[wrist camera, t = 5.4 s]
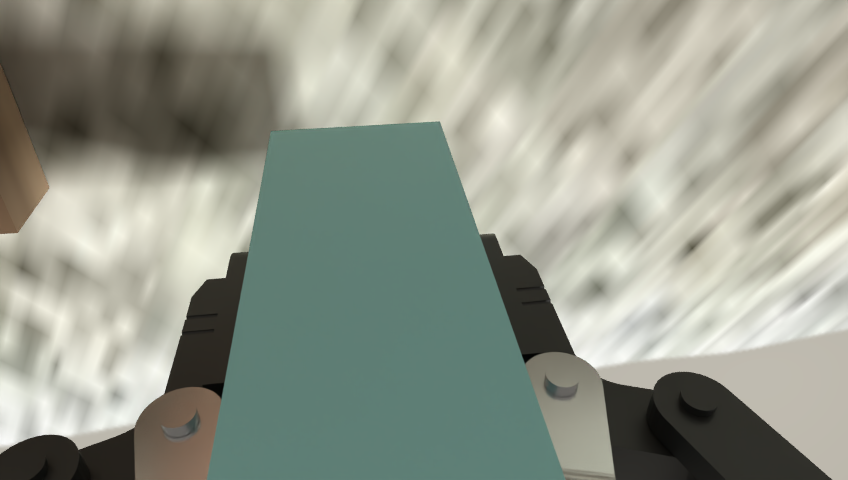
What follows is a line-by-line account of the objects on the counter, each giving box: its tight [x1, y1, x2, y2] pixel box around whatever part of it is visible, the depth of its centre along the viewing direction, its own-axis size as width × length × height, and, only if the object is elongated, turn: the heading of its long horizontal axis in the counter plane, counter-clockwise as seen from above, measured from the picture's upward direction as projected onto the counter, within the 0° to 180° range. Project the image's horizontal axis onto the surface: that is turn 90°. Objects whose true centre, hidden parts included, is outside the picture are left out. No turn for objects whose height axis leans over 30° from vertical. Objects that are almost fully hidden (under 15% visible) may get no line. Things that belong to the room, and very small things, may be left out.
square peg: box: [207, 122, 565, 480], centre depth 12 cm, size 4×4×10 cm
